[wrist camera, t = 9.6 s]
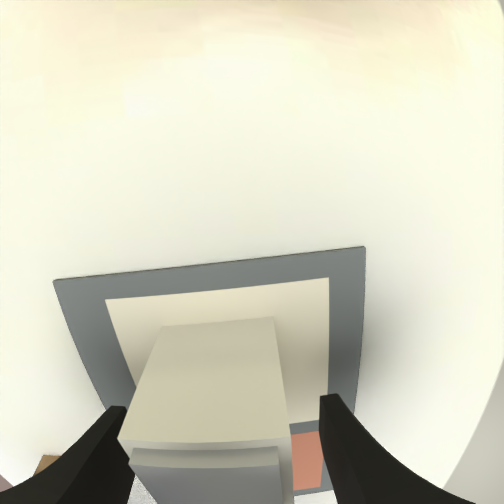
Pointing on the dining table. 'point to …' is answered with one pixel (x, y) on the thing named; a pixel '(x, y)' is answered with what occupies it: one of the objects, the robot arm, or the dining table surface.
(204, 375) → the cream and grey box
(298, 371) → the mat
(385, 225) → the dining table surface
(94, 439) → the robot arm
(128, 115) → the dining table surface
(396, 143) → the dining table surface
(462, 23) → the dining table surface
